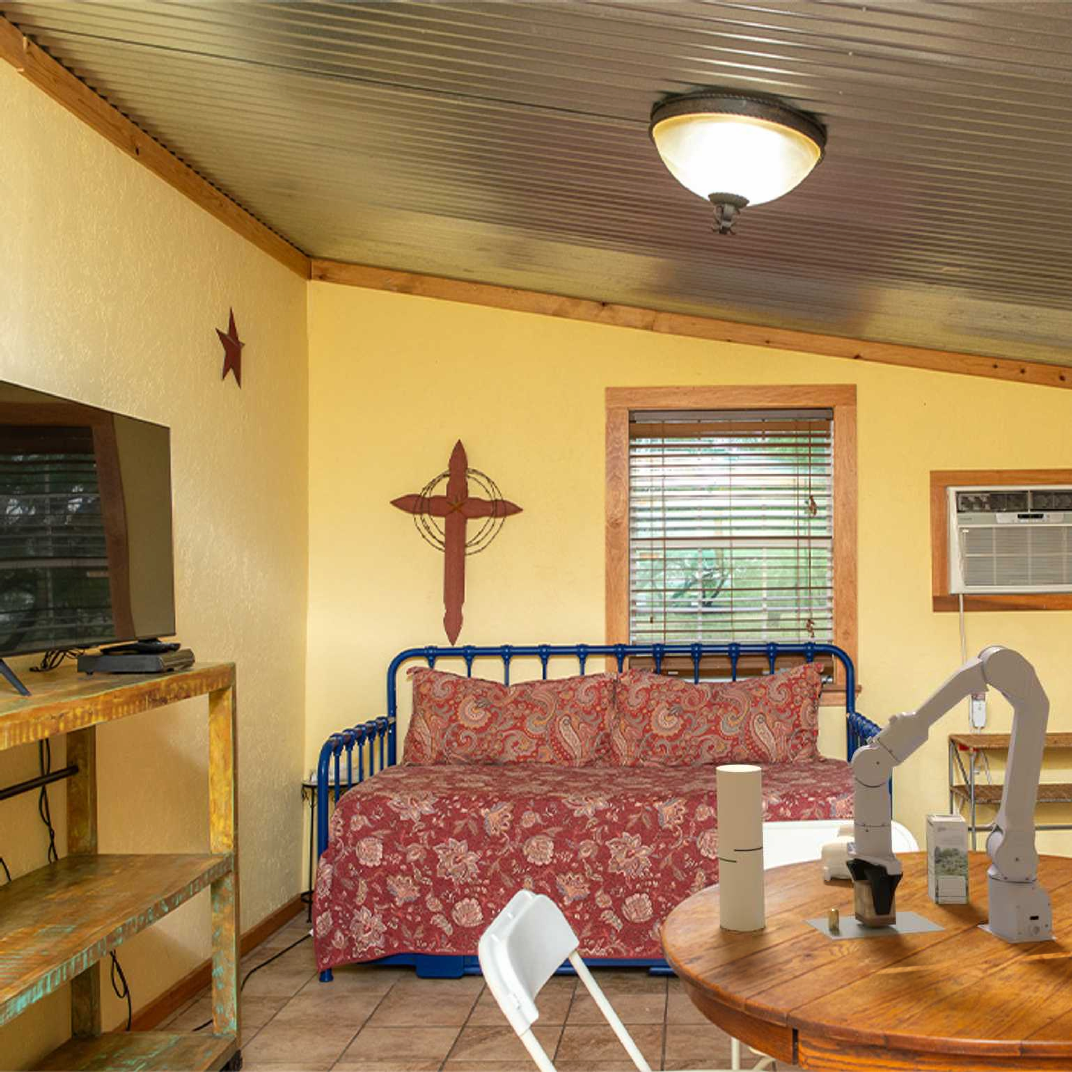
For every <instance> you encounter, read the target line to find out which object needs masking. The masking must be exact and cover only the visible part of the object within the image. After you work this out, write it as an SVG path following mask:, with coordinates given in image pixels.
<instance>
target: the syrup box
mask: <svg viewBox="0 0 1072 1072" xmlns="http://www.w3.org/2000/svg"><path fill="white" fill-rule="evenodd" d="M968 825H969V824H968V821H967V820H966V819H965V818H964V816H962V815H961V814H952V813H951V814H947V813H946V814H926V815H925V836H926V837H925V838H926V871H927V873H926V879H927V881H926V882H927V896H928V897H929V898H930V899H931V900H932V902H933V903H934V904H942V905H943V904H956V905H957V904H960V905H961V904H963V905H965V904H966V905H968V904H970V880H969V878H970V876H969V875H970V874H969V827H968Z"/></svg>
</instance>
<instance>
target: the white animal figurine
mask: <svg viewBox="0 0 1072 1072" xmlns="http://www.w3.org/2000/svg"><path fill="white" fill-rule="evenodd" d="M847 842H854V821H853V822H852V821H850V822H844V823H841V824H840V826H839V829H838V831H837V835H836V837H833V838H832V839H830V840H828V841H827V842H825V843H824V844H823V845H822V848H821V851H820V852H821V853H820V854H821V855H820V856H821V857H820V862H821V871H822V872H824V875H823V878H824V881H825V880H830V881H831V878H837V879H843V880H848V879H851V882H852V884H853V883H854V880H853V877H852V875H851V873H850V871H849V869H848V867H847V866H846V861H848V860H854V858H851V857H849V856H848V854H847Z"/></svg>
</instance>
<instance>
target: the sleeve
mask: <svg viewBox="0 0 1072 1072" xmlns="http://www.w3.org/2000/svg"><path fill="white" fill-rule="evenodd" d="M853 891H854V892H853V894H854V916H855V919H856V920H858V921H859V922H861V923H863V924H865V925H866V926H868V927H875V926H886V925H896V912H897V911H896V910H897V909H896V908H897V906H896V893H895V894H894V898H893V902H892V906H891V911H890V914H889V915H880V916H878V915H876V913H875V909H874V904H873V897H872V891H871V887H870V883H869V881H868V880H859V881H854V884H853Z"/></svg>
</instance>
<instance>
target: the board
mask: <svg viewBox="0 0 1072 1072" xmlns="http://www.w3.org/2000/svg"><path fill="white" fill-rule="evenodd" d="M802 921H804V923H806V924H808V925H809V926H811V927H813V928H814V929H815V930H818V932H820V933H822V935H825V936H826V937H828V938H829V939H831V940H832V941H839V940H849V939H861V938H862V939H863V938H871V937H872V938H873V937H884V936H898V935H908V934H919V933H920V934H921V933H929V932H942V931H944V932H945V931H948V929H946V928H944V927H942V926H941V925H939V924H937V923H935V922H934V921H932V920H929V919H927V918H926V917H924V916H922V915H920V914H918V913H916V912H914V911H912V910H909V911H896V925H886V926H880V927H868V926H866V925H865V924H863V923H861V922H859V921H858V920H856V919H855V915H846V916H839V930H837V931H832V930H829V924H828V917H822V918H811V919H810V918H809V919H802Z"/></svg>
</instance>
